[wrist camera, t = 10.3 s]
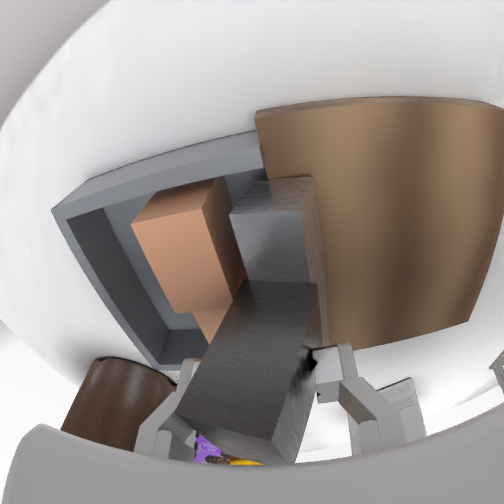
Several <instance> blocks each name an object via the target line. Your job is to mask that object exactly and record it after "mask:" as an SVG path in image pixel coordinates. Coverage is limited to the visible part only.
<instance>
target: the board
mask: <svg viewBox="0 0 504 504" xmlns="http://www.w3.org/2000/svg"><path fill="white" fill-rule="evenodd" d="M255 123H256V128H257V132H258V137H259V141H260V145H261V150H262V154H263V159H264V164H265V168H266V173H267V178H268V179H281V178H295V177H311V176H313V179H314V185H315V192H316V199H317V207H318V214H319V222H320V230H321V239H322V248H323V258H324V268H325V279H326V291H327V305H328V320H329V339H330V343H329V345H334V344H342V343H347V342H350V343H351V346H352V350H358V349H364V348H369V347H374V346H378V345H383V344H388V343H392V342H396V341H401V340H405V339H409V338H413V337H417V336H420V335H424V334H428V333H431V332H435V331H439V330H442V329H445V328H449V327H452V326H455V325H458V324H461V323H465V322H468V320H469V318H470V316H471V313H472V311H473V309H474V306H475V304H476V301H477V299H478V296H479V294H480V291H481V289H482V286H483V283H484V280H485V278H486V275H487V272H488V269H489V266H490V263H491V260H492V256H493V253H494V250H495V246H496V242H497V239H498V235H499V231H500V227H501V223H502V218H503V214H504V109H503V108H500V107H497V106H494V105H491V104H488V103H485V102H481V101H472V100H463V99H452V98H438V97H406V96H396V97H364V98H348V99H336V100H326V101H317V102H309V103H301V104H294V105H287V106H281V107H275V108H269V109H264V110H259V111H256V115H255Z"/></svg>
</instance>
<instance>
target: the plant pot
mask: <svg viewBox="0 0 504 504" xmlns="http://www.w3.org/2000/svg"><path fill="white" fill-rule="evenodd" d="M176 389H177V385H172V384H171V383H170V382H169V381H168V379H167V377H165V376H164V375H162V374H160V373H158V372H156V371H154V370H152V369H149V368H148V367H145V366H143V365H140V364H137V363H134V362H131V361H126V360H121V359H116V358H107V359H105V360H104V361H100V360H95V361H94V362H93V363H92V365H91V367H90V369H89V371H88V373H87V375H86V377H85V379H84V381H83V383H82V385H81V387H80V389H79V391H78V393H77V395H76V397H75V399H74V401H73V404H72V406H71V408H70V410H69V412H68V414H67V416H66V418H65V420H64V423H63V425H62V427H61V431H63V432H66V433H69V434H71V435H74V436H77V437H80V438H83V439H86V440H89V441H93V442H96V443H99V444H103V445H106V446H110V447H114V448H118V449H122V450H126V451H130V452H134V448H135V444H136V439H137V435H138V431H139V427H140V425H141V424H142V423H143V422H144V421H145V420H146V419H147V418H148V417H149V416H150V415H151V414H152V413H153V412H154V411H155V410H156V409H157V408H158V407H159V406H160V405H161V404H162V403H163V402H164V401H165V400H166V398H167V397H168V396H169V395H170V394H171V393H172V392H176Z"/></svg>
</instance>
